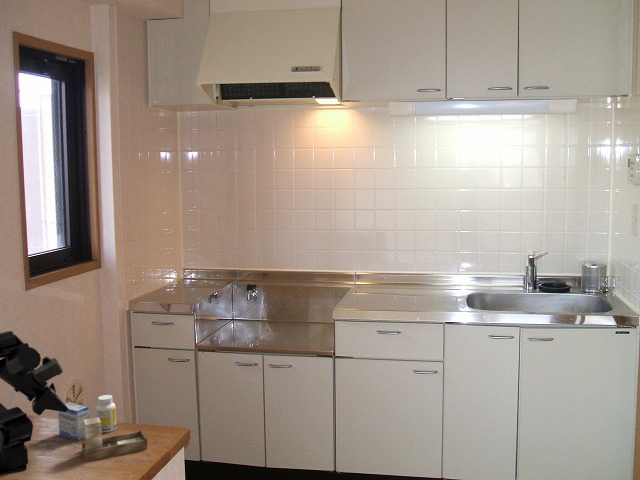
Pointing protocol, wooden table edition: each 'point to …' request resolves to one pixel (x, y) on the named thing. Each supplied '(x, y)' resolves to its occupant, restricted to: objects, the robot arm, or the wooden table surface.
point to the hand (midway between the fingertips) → (67, 410)
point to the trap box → (117, 445)
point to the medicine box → (73, 421)
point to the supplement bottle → (106, 413)
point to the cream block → (92, 434)
